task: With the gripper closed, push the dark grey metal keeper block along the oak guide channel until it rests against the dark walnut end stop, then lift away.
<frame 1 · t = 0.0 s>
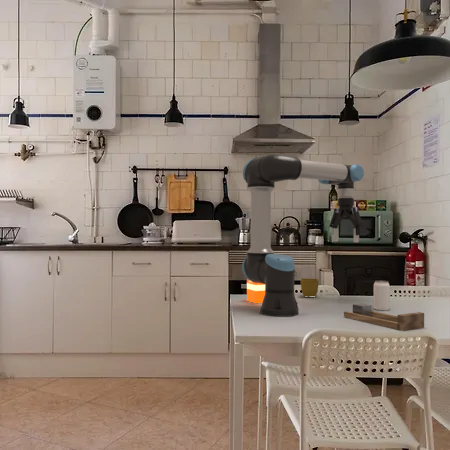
hand: (345, 242, 217), 28 cm above the table, fingers open, 13 cm apart
orange juice: (258, 302, 208), on the table
oak track: (380, 321, 165), on the table
can: (381, 310, 191), on the table
flower pot: (309, 297, 226), on the table
keeper: (362, 317, 173), on the table
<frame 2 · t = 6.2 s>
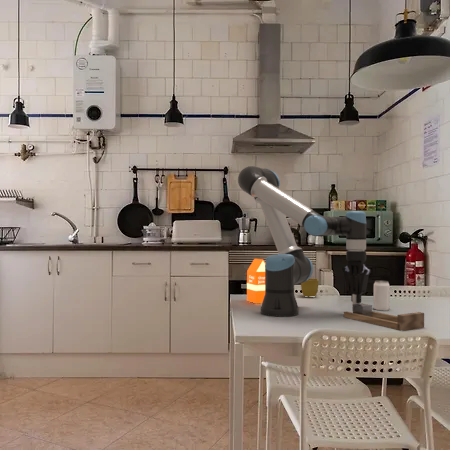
hand: (356, 310, 176), 2 cm above the table, fingers closed
keeper: (362, 317, 173), on the table, touching gripper
everything else where it was.
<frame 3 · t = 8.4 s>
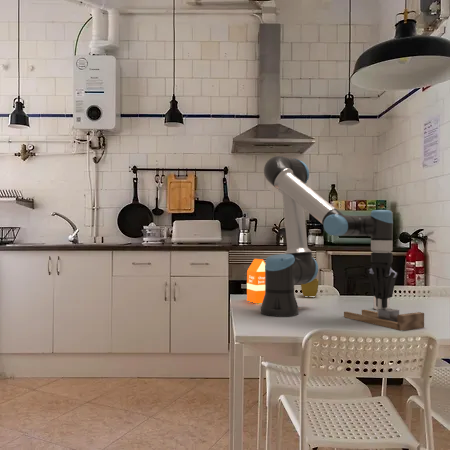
hand: (381, 316, 165), 2 cm above the table, fingers closed
keeper: (388, 323, 162), on the table, touching gripper
everything else where it was.
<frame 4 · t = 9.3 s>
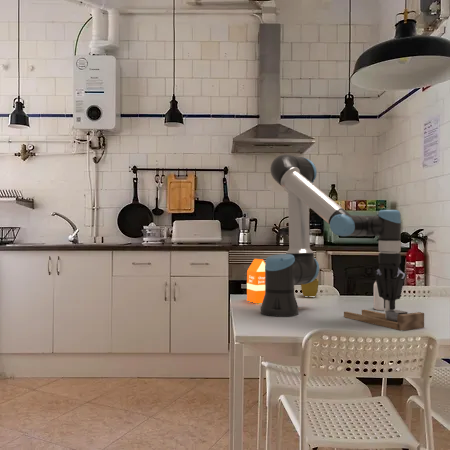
hand: (389, 318, 162), 2 cm above the table, fingers closed
keeper: (396, 325, 159), on the table, touching gripper
everything else where it was.
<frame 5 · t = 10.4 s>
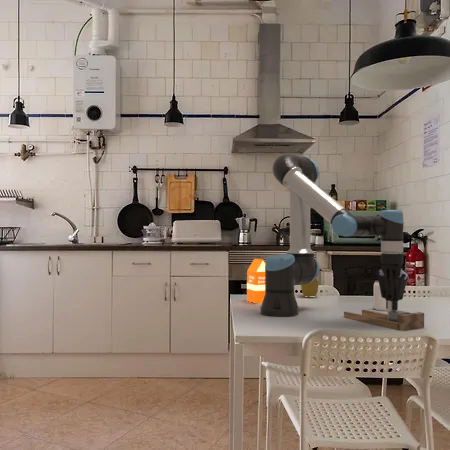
hand: (391, 318, 161), 2 cm above the table, fingers closed
keeper: (399, 326, 158), on the table, touching gripper
everything else where it was.
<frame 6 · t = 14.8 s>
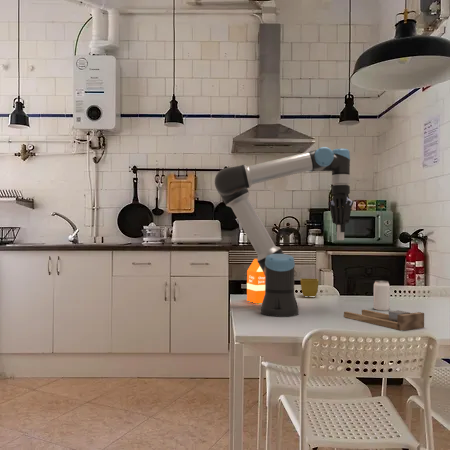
hand: (340, 239, 194), 29 cm above the table, fingers closed
keeper: (399, 326, 158), on the table
everything else where it was.
at the end: keeper inside the target area (0.0 cm from its centre), on the table; keeper tilted 0° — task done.
